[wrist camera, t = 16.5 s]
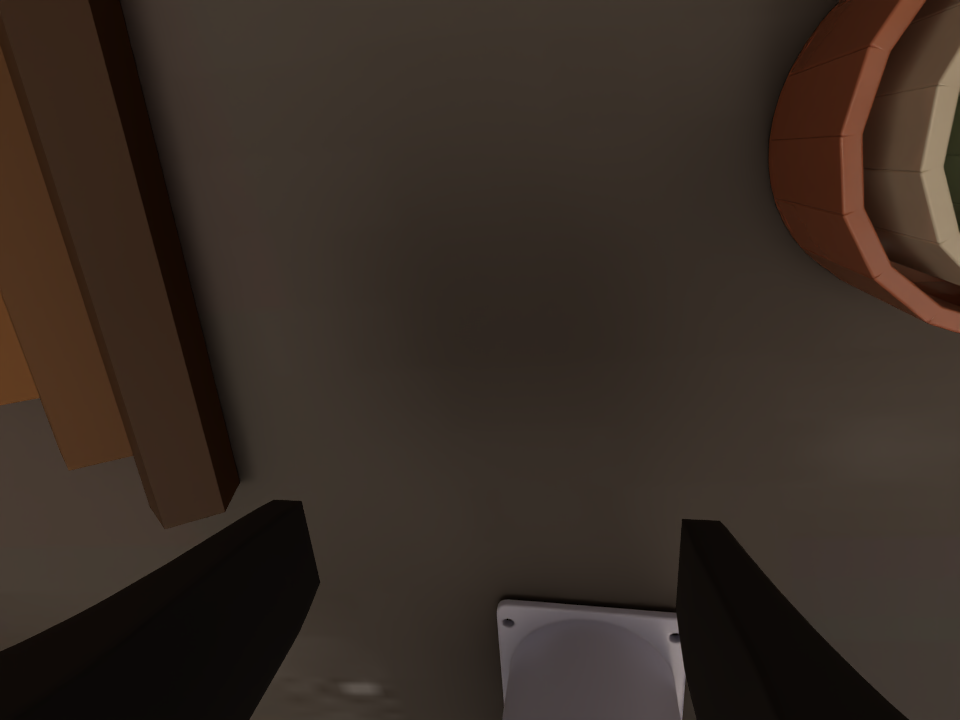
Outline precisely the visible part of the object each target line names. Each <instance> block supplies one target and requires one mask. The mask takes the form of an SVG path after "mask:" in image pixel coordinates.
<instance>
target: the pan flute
mask: <svg viewBox="0 0 960 720" xmlns="http://www.w3.org/2000/svg"><path fill="white" fill-rule="evenodd" d="M36 398H40V400H41V402H42V405H43V408H44V410H45V413H46V415H47V418H48V421H49V423H50V426H51V429H52V431H53V434H54V437H55V439H56V442H57V445H58V447H59V450H60V452H61V455H62V457H63V459H64V461H65V463H66V465H67V468H68V470H74V469H78V468H82V467H86V466H91V465H95V464H99V463H103V462H108V461H112V460H116V459H121V458H125V457H129V456H134V459H135V462H136V465H137V468H138V471H139V475H140V478H141V481H142V484H143V487H144V490H145V493H146V496H147V499H148V502H149V505H150V508H151V509H152V511H153V512H154V514H155V515H156V517H157V518H158V520H159V521H160V523H161V524H162V526H163V527H164V529H168V528H171V527H175V526H178V525H181V524H185V523H188V522H192V521H195V520H199V519H202V518H206V517H209V516H213V515H216V514H220V513H223V512H225V511H226V509H227V507H228V505H229V503H230V501H231V499H232V497H233V495H234V493H235V491H236V489H237V487H238V485H239V483H240V481H239V477H238V473H237V469H236V465H235V461H234V457H233V453H232V449H231V445H230V441H229V437H228V433H227V429H226V425H225V421H224V417H223V413H222V409H221V405H220V401H219V397H218V393H217V389H216V385H215V381H214V377H213V373H212V369H211V365H210V361H209V357H208V353H207V349H206V345H205V341H204V337H203V333H202V329H201V325H200V321H199V317H198V313H197V309H196V305H195V301H194V297H193V293H192V289H191V285H190V281H189V277H188V273H187V269H186V265H185V261H184V257H183V253H182V249H181V245H180V241H179V237H178V233H177V229H176V225H175V221H174V217H173V213H172V209H171V205H170V201H169V197H168V193H167V189H166V185H165V181H164V177H163V173H162V169H161V165H160V161H159V157H158V153H157V149H156V145H155V141H154V137H153V133H152V129H151V125H150V121H149V117H148V113H147V109H146V105H145V101H144V97H143V93H142V89H141V85H140V81H139V77H138V73H137V69H136V65H135V61H134V57H133V53H132V49H131V45H130V41H129V37H128V33H127V29H126V25H125V21H124V17H123V13H122V9H121V5H120V1H119V0H0V405H4V404H10V403H15V402H20V401H26V400H31V399H36Z"/></svg>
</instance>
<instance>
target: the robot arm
mask: <svg viewBox="0 0 960 720" xmlns="http://www.w3.org/2000/svg"><path fill="white" fill-rule="evenodd" d="M319 584H320V580H319V575H318V571H317V566H316V562H315V558H314V553H313V549H312V545H311V540H310V536H309V531H308V527H307V523H306V518H305V514H304V510H303V505H302V501H289V500H273V501H271V502H269V503H267V504H265V505H263V506H261V507H259V508H258V509H256V510H254V511H252V512H251V513H249V514H247V515H246V516H244V517H242V518H241V519H239V520H237V521H236V522H234V523H232V524H231V525H229V526H227V527H226V528H224V529H223V530H221V531H219V532H218V533H216V534H215V535H213V536H211V537H210V538H208V539H206V540H205V541H203V542H202V543H200V544H198V545H197V546H195V547H193V548H192V549H190V550H189V551H187V552H185V553H184V554H182V555H180V556H179V557H177V558H176V559H174V560H172V561H171V562H169V563H167V564H166V565H164V566H162V567H161V568H159V569H157V570H155V571H154V572H152V573H150V574H148V575H147V576H145V577H143V578H142V579H140V580H138V581H136V582H135V583H133V584H131V585H129V586H128V587H126V588H124V589H122V590H121V591H119V592H117V593H116V594H114V595H112V596H110V597H109V598H107V599H105V600H103V601H101V602H100V603H98V604H96V605H94V606H92V607H90V608H88V609H86V610H85V611H83V612H81V613H79V614H77V615H75V616H73V617H71V618H69V619H67V620H65V621H63V622H61V623H59V624H57V625H55V626H53V627H51V628H49V629H47V630H45V631H43V632H41V633H39V634H37V635H35V636H33V637H31V638H29V639H27V640H25V641H23V642H20V643H18V644H16V645H14V646H12V647H9V648H7V649H5V650H3V651H0V720H249V719H250V717H251V716H252V714H253V712H254V710H255V709H256V707H257V705H258V704H259V702H260V700H261V698H262V697H263V695H264V693H265V692H266V690H267V688H268V686H269V685H270V683H271V681H272V679H273V678H274V676H275V674H276V673H277V671H278V669H279V667H280V666H281V664H282V662H283V660H284V659H285V657H286V655H287V653H288V651H289V650H290V648H291V646H292V644H293V643H294V641H295V639H296V637H297V635H298V634H299V632H300V629H301V627H302V625H303V623H304V620H305V618H306V616H307V613H308V611H309V609H310V606H311V604H312V601H313V599H314V596H315V594H316V591H317V589H318V586H319ZM506 619H511V620H512V621H509V620H506ZM497 624H498V637H499V649H500V661H501V673H502V685H503V698H504V711H503V718H502V720H682V716H683V703H684V691H685V678H686V679H687V683H688V687H689V691H690V695H691V699H692V703H693V707H694V711H695V715H696V719H697V720H909V719H908V718H906V717H905V716H904V715H903V714H902V713H901V712H900V711H898V710H897V709H896V708H895V707H894V706H893V705H892V704H890V703H889V702H888V701H887V700H886V699H885V698H884V697H883V696H882V695H881V694H880V693H879V692H878V691H877V690H875V689H874V688H873V687H872V686H871V685H870V684H869V683H868V682H867V681H866V680H865V679H864V678H863V677H862V676H861V675H860V674H859V673H858V672H857V671H856V670H855V669H854V668H853V667H852V666H851V665H850V664H849V663H848V662H847V661H846V660H845V659H844V658H843V657H842V656H841V655H840V654H839V653H838V652H837V651H836V650H835V649H834V648H833V647H832V646H831V645H830V644H829V643H828V642H827V641H826V640H825V639H824V638H823V637H822V636H821V635H820V634H819V633H818V632H817V631H816V630H815V629H814V628H813V627H812V626H811V625H810V624H809V622H808V621H807V620H806V619H805V618H804V617H803V616H802V615H801V614H800V613H799V612H798V610H797V609H796V608H795V607H794V606H793V605H792V604H791V603H790V602H789V601H788V600H787V599H786V597H785V596H784V595H783V594H782V593H781V592H780V591H779V590H778V589H777V587H776V586H775V585H774V584H773V583H772V582H771V581H770V579H769V578H768V577H767V576H766V575H765V574H764V572H763V571H762V570H761V569H760V568H759V567H758V565H757V564H756V563H755V562H754V561H753V560H752V558H751V557H750V556H749V555H748V554H747V552H746V551H745V550H744V549H743V547H742V546H741V545H740V544H739V543H738V541H737V540H736V539H735V538H734V536H733V535H732V534H731V533H730V532H729V530H728V529H727V528H726V527H725V526H724V525H723V524H722V523H721V522H720V521H712V520H691V519H682V528H681V542H680V557H679V571H678V586H677V600H676V613H672V612H660V611H647V610H635V609H622V608H610V607H597V606H585V605H572V604H560V603H547V602H535V601H522V600H510V599H507V600H502V601H500V602H499V604H498V607H497ZM673 633H678V635H672V634H673Z"/></svg>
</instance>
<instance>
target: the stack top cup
mask: <svg viewBox="0 0 960 720" xmlns="http://www.w3.org/2000/svg"><path fill="white" fill-rule="evenodd" d="M959 91H960V0H927V1H926V2H925V3H924V5H923V6H922V8H921V9H920V11H919V12H918V13H917V15H916V16H915V18H914V19H913V20H912V22H911V23H910V25H909V26H908V28H907V29H906V30H905V32H904V33H903V35H902V36H901V38H900V39H899V40H898V42H897V43H896V45H895V46H894V48H893V49H892V50H891V52H890V55H889V58H888V61H887V64H886V67H885V69H884V72H883V75H882V78H881V81H880V84H879V87H878V90H877V93H876V96H875V99H874V102H873V105H872V108H871V111H870V114H869V117H868V120H867V123H866V126H865V129H864V132H863V170H864V207H865V209H866V212H867V214H868V216H869V218H870V220H871V222H872V224H873V226H874V228H875V231H876V233H877V235H878V237H879V239H880V241H881V243H882V245H883V248H884V250H885V252H886V254H887V256H888V258H889V260H890V261H892V262H894V263H897V264H900V265H903V266H906V267H908V268H911V269H914V270H917V271H920V272H922V273H925V274H928V275H931V276H934V277H936V278H939V279H942V280H945V281H948V282H950V283H953V284H956V285H959V286H960V232H959V228H958V224H957V220H956V216H955V212H954V207H953V203H952V199H951V195H950V191H949V187H948V183H947V179H946V175H945V171H944V162H945V157H946V153H947V148H948V143H949V139H950V134H951V129H952V124H953V120H954V115H955V110H956V106H957V101H958V96H959Z"/></svg>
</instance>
